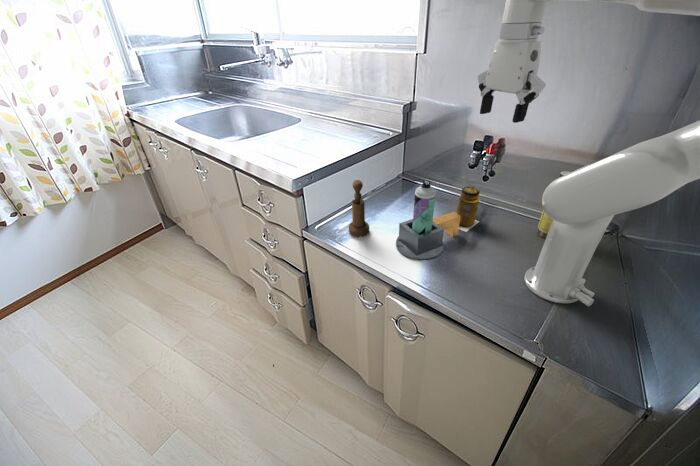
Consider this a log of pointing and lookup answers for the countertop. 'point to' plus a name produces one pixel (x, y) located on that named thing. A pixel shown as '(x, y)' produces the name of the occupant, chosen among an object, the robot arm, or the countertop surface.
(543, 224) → the sauce bottle
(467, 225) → the condiment
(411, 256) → the grey square saucepan
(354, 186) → the brown wooden tall piece
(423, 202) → the spray can
